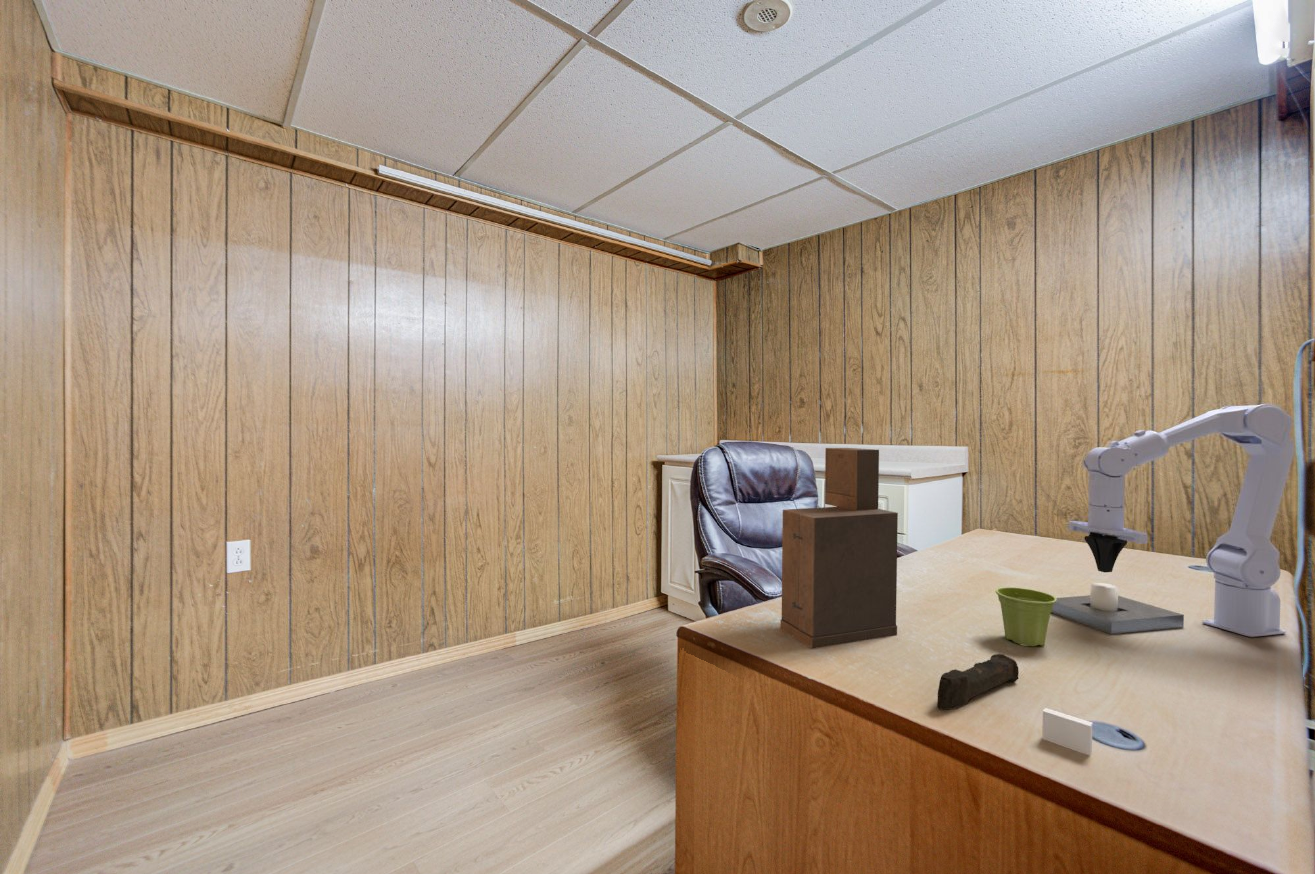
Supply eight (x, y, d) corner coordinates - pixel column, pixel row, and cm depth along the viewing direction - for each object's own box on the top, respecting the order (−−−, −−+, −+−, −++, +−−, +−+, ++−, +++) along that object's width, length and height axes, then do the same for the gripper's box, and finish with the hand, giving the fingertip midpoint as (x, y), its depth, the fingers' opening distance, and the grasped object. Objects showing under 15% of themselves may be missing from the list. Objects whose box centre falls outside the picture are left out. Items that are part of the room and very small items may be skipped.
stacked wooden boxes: (847, 611, 118) (849, 447, 117) (897, 635, 104) (899, 450, 104) (769, 621, 111) (771, 448, 110) (812, 648, 98) (814, 451, 97)
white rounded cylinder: (1102, 615, 116) (1103, 582, 116) (1123, 622, 112) (1123, 588, 112) (1084, 616, 115) (1085, 583, 115) (1104, 623, 111) (1105, 589, 111)
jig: (1111, 604, 123) (1111, 593, 123) (1183, 627, 109) (1183, 614, 109) (1045, 610, 119) (1045, 598, 119) (1111, 634, 105) (1111, 621, 105)
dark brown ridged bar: (992, 674, 89) (993, 645, 89) (1019, 684, 85) (1019, 654, 85) (919, 704, 79) (920, 672, 79) (946, 717, 76) (947, 683, 75)
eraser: (1090, 756, 66) (1090, 726, 66) (1042, 739, 70) (1042, 710, 70) (1092, 752, 67) (1092, 722, 67) (1044, 735, 71) (1044, 707, 71)
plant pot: (994, 627, 108) (995, 584, 108) (1053, 637, 104) (1054, 591, 103) (995, 643, 100) (995, 596, 100) (1058, 655, 96) (1059, 605, 95)
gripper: (1057, 501, 119) (1056, 563, 120) (1128, 511, 105) (1126, 582, 105) (1083, 500, 121) (1082, 562, 121) (1156, 510, 107) (1155, 580, 107)
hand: (1104, 571), depth 113 cm, fingers closed
